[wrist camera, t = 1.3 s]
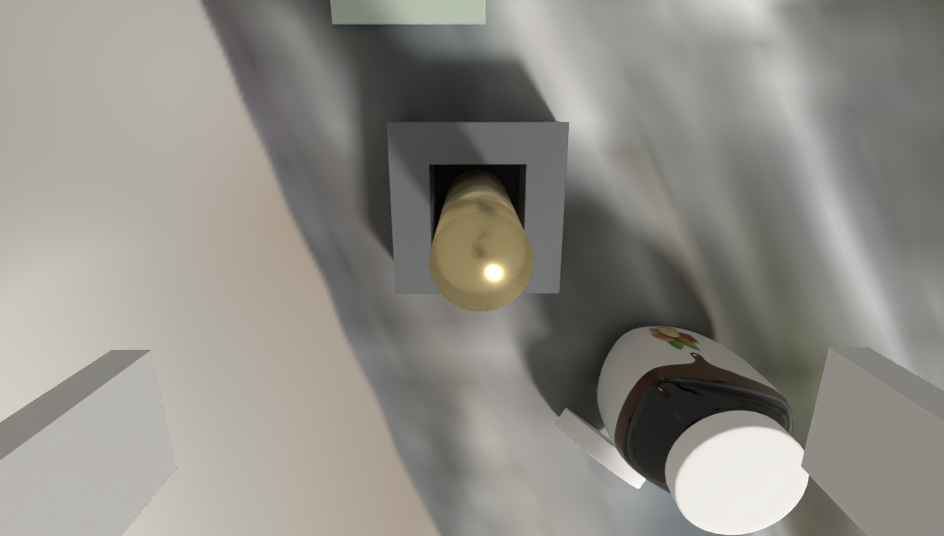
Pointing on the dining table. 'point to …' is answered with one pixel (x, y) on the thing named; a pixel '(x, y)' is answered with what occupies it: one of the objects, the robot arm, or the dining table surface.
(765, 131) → the dining table surface
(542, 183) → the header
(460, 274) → the plug
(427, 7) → the mat
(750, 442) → the spread jar
